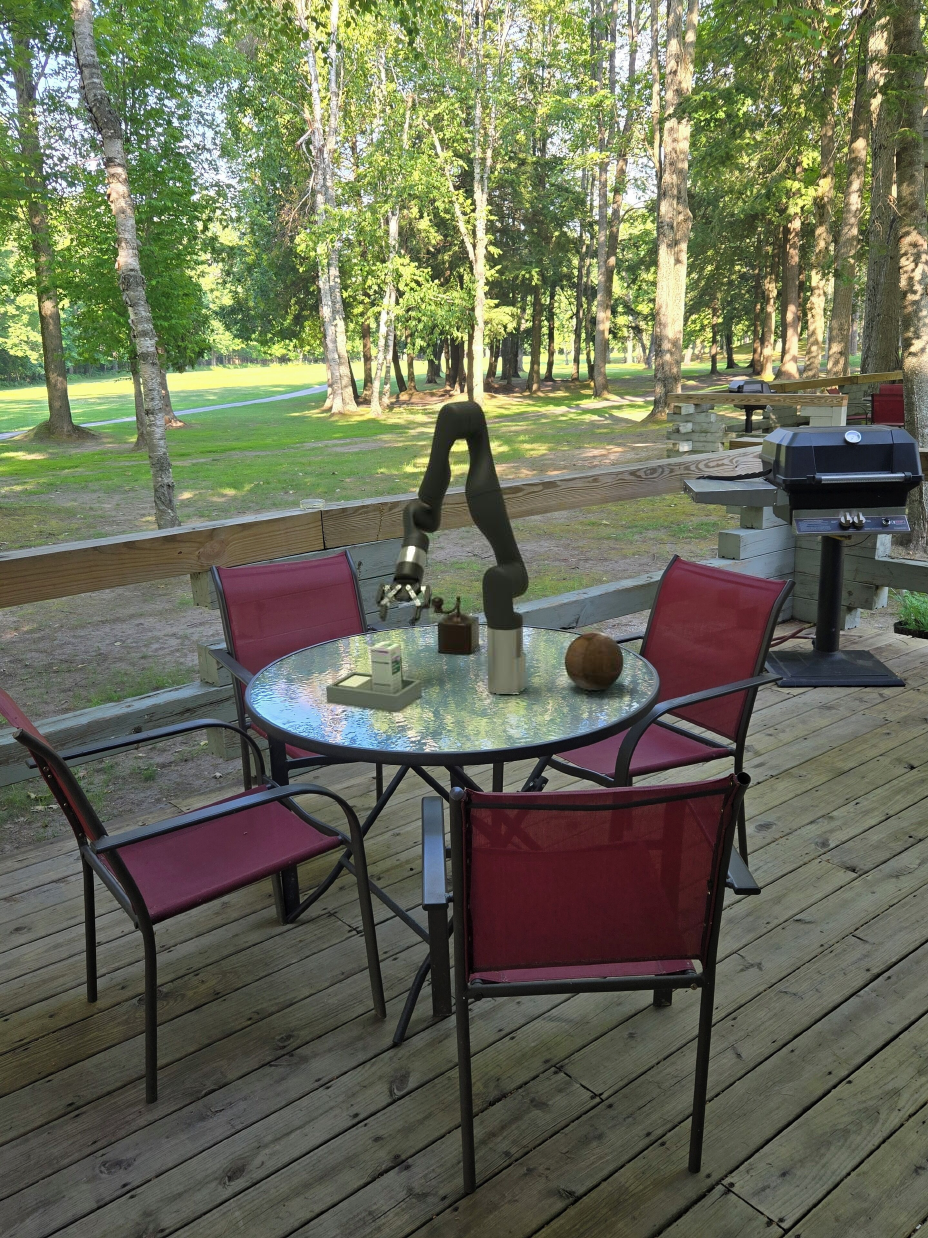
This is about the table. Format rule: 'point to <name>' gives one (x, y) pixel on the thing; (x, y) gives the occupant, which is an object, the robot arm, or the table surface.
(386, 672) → the syrup box
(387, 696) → the tray
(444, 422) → the robot arm
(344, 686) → the cream rectangular block
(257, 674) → the table surface
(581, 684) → the wooden sphere
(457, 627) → the manual coffee grinder
